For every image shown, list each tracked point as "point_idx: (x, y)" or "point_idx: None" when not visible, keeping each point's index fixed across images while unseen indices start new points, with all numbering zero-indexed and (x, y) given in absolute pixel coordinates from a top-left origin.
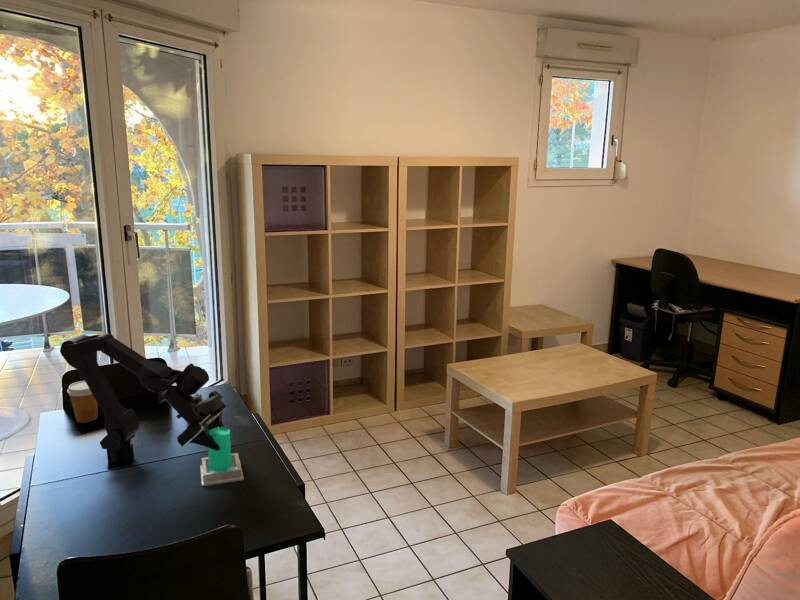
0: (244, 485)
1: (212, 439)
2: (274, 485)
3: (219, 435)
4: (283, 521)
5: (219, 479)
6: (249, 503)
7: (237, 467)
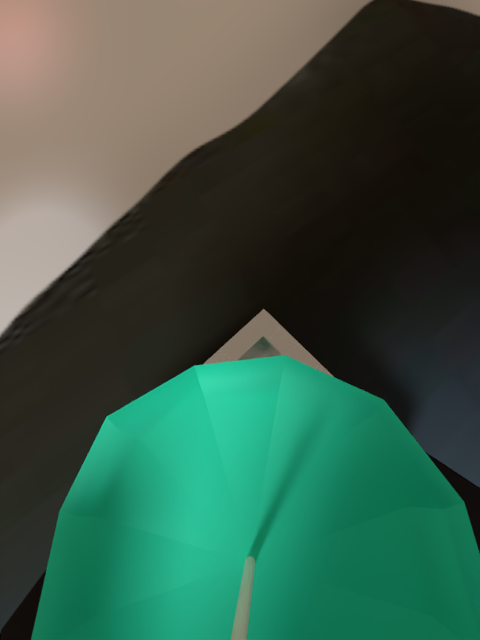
0: (298, 285)
1: (478, 513)
2: (243, 190)
3: (316, 480)
4: (408, 59)
5: None
6: (392, 192)
7: (254, 339)
